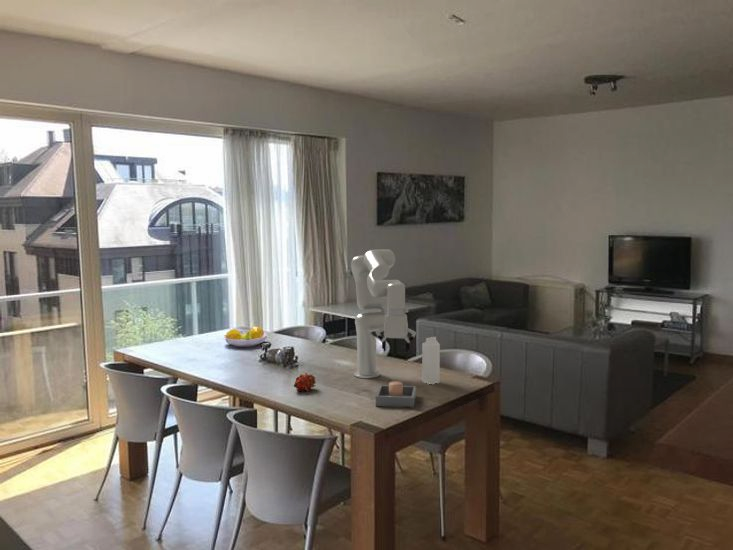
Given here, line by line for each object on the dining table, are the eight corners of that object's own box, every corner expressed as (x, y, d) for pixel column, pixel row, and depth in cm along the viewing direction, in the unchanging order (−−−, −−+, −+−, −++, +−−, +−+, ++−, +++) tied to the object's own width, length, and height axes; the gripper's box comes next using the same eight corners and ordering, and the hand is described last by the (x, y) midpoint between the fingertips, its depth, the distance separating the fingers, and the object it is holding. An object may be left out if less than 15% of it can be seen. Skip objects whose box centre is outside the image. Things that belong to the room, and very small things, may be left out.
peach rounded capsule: (389, 396, 260) (389, 381, 259) (403, 397, 259) (403, 381, 258) (388, 401, 254) (388, 385, 253) (402, 401, 253) (402, 385, 252)
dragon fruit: (317, 391, 276) (296, 400, 269) (308, 378, 280) (286, 386, 273) (322, 379, 271) (300, 388, 264) (312, 366, 275) (290, 375, 268)
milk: (439, 383, 282) (440, 337, 279) (429, 385, 279) (430, 339, 276) (431, 380, 287) (432, 335, 285) (421, 381, 284) (422, 336, 281)
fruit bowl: (228, 340, 378) (228, 322, 376) (271, 339, 378) (271, 322, 376) (217, 350, 350) (217, 331, 349) (263, 350, 350) (263, 331, 348)
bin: (380, 394, 265) (379, 385, 265) (415, 395, 263) (415, 386, 263) (375, 406, 250) (375, 396, 249) (413, 408, 247) (413, 397, 247)
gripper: (416, 310, 254) (416, 349, 257) (376, 309, 257) (376, 347, 259) (415, 314, 247) (415, 354, 249) (374, 312, 249) (374, 352, 252)
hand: (395, 350), depth 254 cm, fingers open, 9 cm apart
